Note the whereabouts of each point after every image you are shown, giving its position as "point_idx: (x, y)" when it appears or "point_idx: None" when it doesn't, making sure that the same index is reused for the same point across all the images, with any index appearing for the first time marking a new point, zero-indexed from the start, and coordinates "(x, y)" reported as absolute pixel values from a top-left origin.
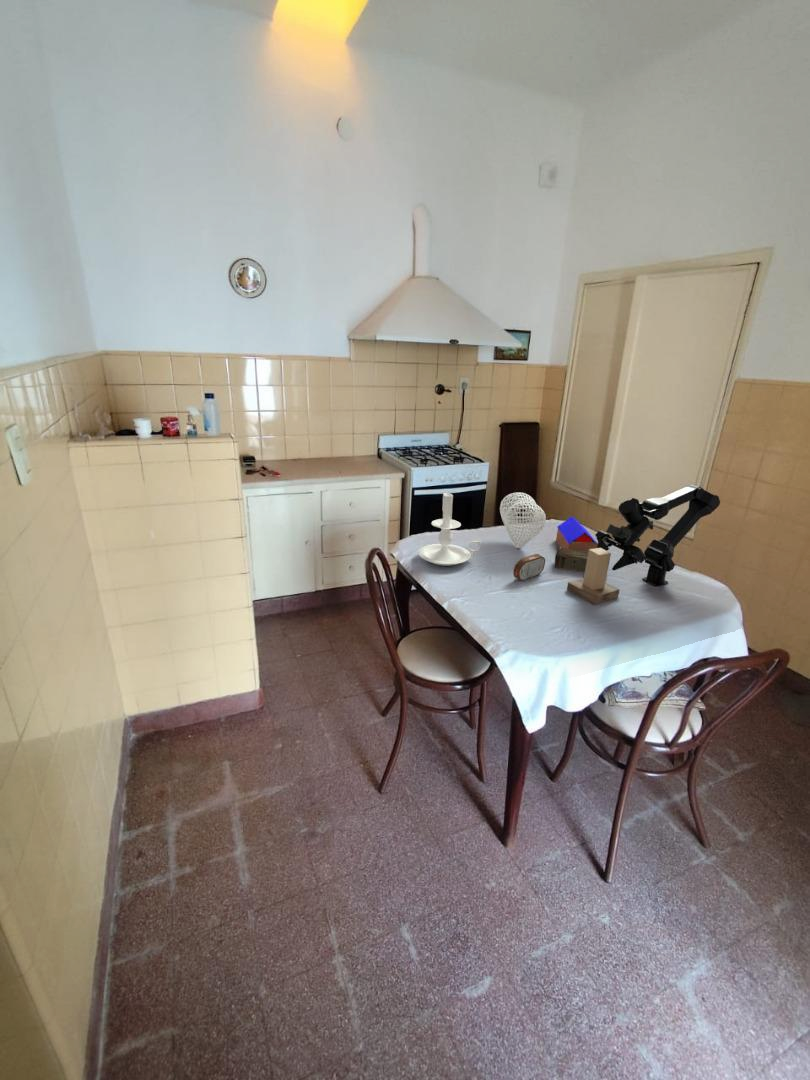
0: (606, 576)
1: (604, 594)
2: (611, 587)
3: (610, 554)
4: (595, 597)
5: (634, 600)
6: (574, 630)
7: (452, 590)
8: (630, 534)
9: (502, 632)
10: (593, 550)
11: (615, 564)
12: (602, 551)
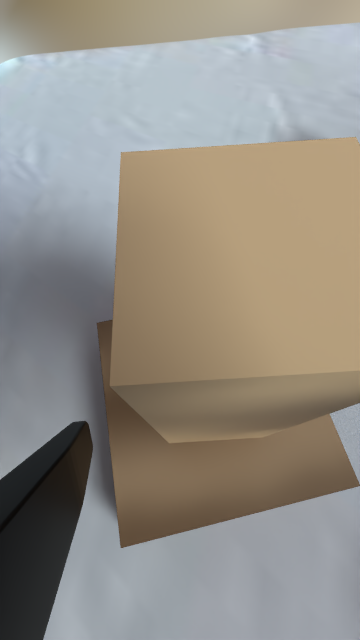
0: (162, 436)
1: (105, 391)
2: (162, 502)
3: (118, 385)
4: (98, 325)
5: (59, 628)
6: (2, 189)
7: (300, 44)
8: None
9: (80, 69)
10: (304, 167)
11: (53, 457)
12: (241, 272)
